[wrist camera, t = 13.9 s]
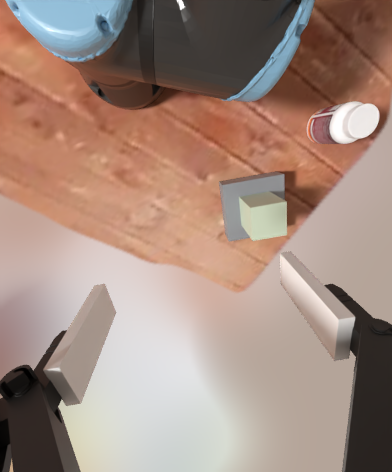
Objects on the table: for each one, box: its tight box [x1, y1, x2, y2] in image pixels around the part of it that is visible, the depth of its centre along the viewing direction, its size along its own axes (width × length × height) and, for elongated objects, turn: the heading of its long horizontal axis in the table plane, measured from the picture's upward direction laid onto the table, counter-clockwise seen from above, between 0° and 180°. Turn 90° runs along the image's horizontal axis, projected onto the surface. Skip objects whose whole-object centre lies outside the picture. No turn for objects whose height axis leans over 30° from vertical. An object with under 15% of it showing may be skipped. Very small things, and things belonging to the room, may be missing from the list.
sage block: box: [239, 191, 287, 241], centre depth 41 cm, size 6×6×8 cm
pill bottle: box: [307, 101, 379, 144], centre depth 38 cm, size 6×6×11 cm
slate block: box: [219, 172, 285, 241], centre depth 47 cm, size 12×12×4 cm
